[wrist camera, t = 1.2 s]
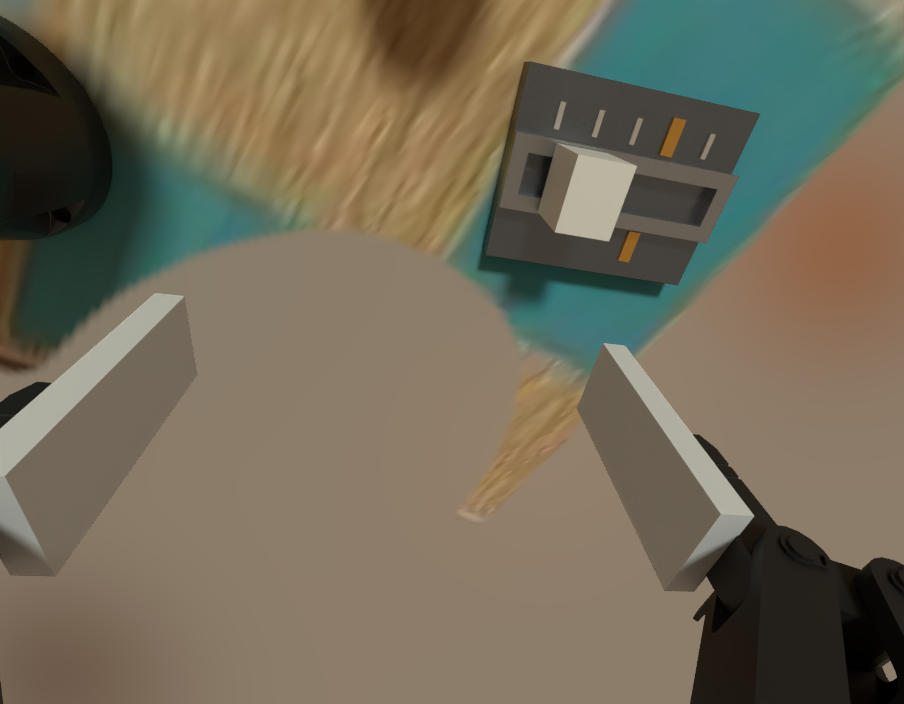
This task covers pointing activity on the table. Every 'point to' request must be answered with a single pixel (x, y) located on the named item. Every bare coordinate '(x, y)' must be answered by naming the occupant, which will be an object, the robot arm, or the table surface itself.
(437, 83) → the table surface
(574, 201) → the fader tab
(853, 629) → the robot arm
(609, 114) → the console
